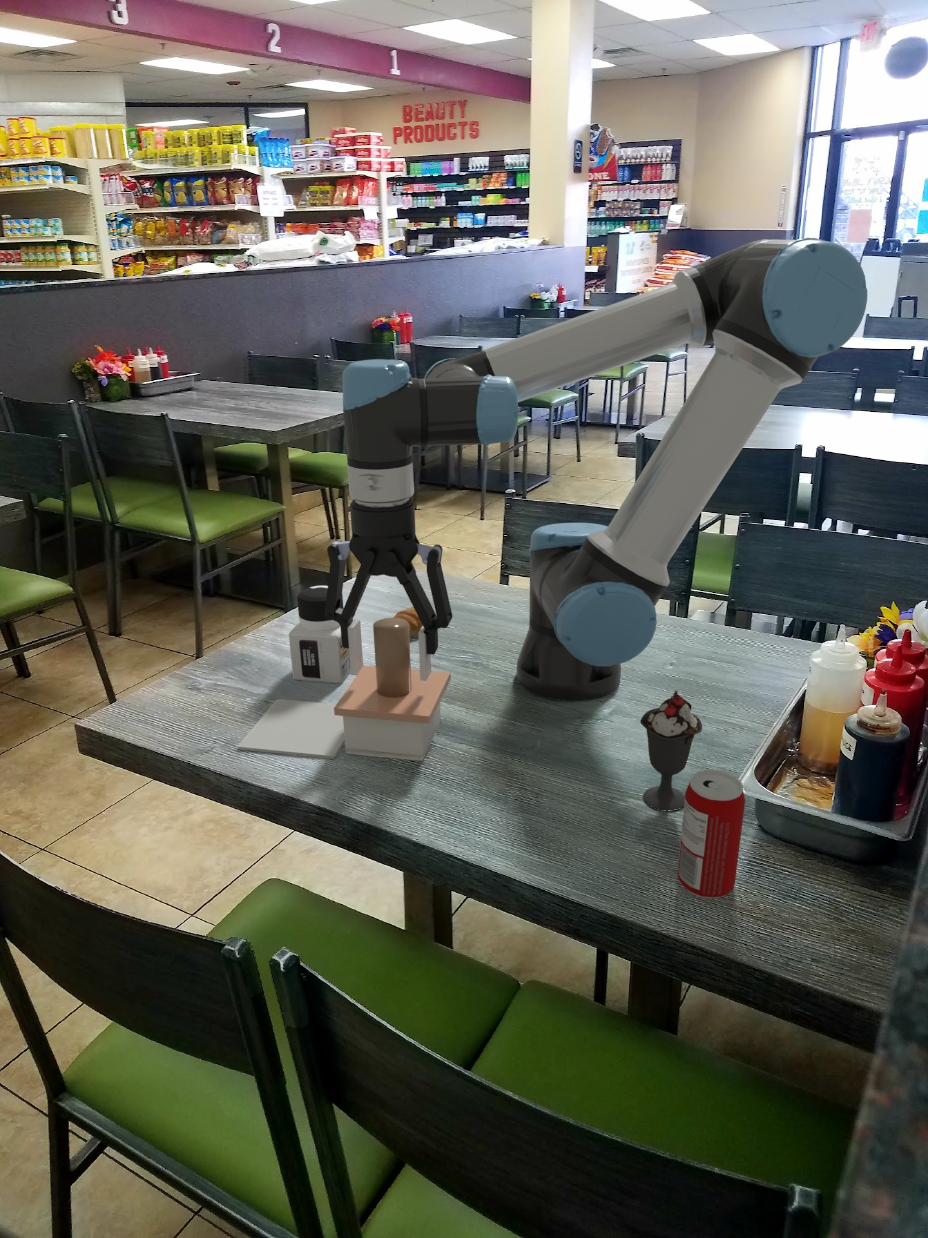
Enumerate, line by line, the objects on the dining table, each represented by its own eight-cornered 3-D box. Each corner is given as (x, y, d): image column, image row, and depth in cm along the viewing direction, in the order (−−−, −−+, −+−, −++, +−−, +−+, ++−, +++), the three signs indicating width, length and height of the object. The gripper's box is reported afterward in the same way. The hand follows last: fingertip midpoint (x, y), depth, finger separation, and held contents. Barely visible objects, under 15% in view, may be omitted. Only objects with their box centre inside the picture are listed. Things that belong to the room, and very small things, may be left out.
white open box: (440, 721, 121) (439, 681, 119) (422, 761, 112) (420, 718, 110) (369, 715, 123) (366, 675, 121) (345, 753, 114) (342, 711, 112)
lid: (450, 679, 119) (449, 609, 115) (429, 723, 109) (426, 648, 105) (363, 672, 122) (359, 603, 118) (334, 715, 111) (328, 641, 107)
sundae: (657, 822, 100) (667, 702, 94) (624, 791, 105) (631, 676, 99) (706, 807, 102) (719, 690, 96) (671, 778, 108) (681, 665, 102)
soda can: (742, 879, 91) (756, 777, 86) (720, 909, 87) (733, 804, 82) (691, 858, 94) (701, 759, 89) (667, 886, 90) (677, 784, 85)
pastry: (404, 647, 144) (403, 625, 142) (373, 637, 147) (371, 616, 146) (441, 628, 150) (440, 607, 149) (411, 619, 154) (410, 598, 153)
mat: (365, 709, 125) (365, 706, 124) (334, 759, 113) (334, 756, 113) (277, 701, 127) (276, 699, 127) (237, 749, 115) (237, 746, 115)
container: (342, 684, 132) (335, 602, 127) (292, 680, 133) (284, 598, 128) (358, 661, 139) (353, 582, 133) (310, 658, 140) (303, 579, 135)
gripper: (284, 503, 104) (301, 679, 113) (464, 511, 100) (467, 693, 108) (307, 486, 110) (322, 654, 119) (477, 493, 106) (478, 666, 115)
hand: (391, 673), depth 114 cm, fingers open, 8 cm apart
